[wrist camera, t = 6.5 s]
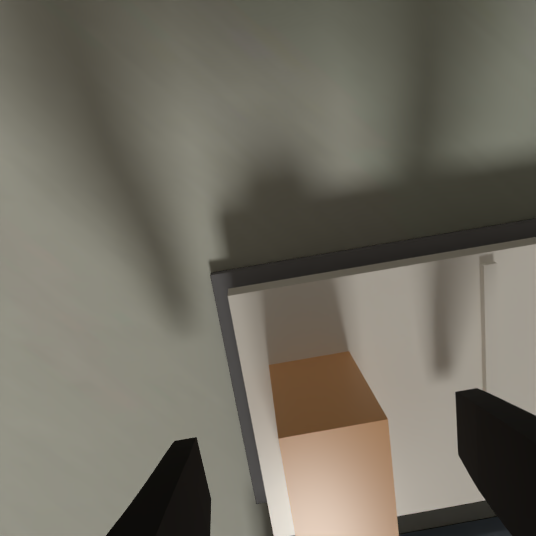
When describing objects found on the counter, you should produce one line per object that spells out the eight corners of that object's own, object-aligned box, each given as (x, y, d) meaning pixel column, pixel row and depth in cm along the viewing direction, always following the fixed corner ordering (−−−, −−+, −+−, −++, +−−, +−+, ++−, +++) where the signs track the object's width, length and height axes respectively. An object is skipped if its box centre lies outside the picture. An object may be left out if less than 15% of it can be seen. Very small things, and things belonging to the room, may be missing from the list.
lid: (581, 220, 13) (780, 252, 8) (572, 443, 15) (725, 572, 10) (229, 279, 13) (221, 347, 8) (270, 498, 15) (284, 655, 10)
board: (598, 207, 13) (606, 208, 13) (586, 438, 16) (593, 443, 15) (211, 272, 13) (210, 275, 13) (256, 497, 15) (256, 503, 15)
